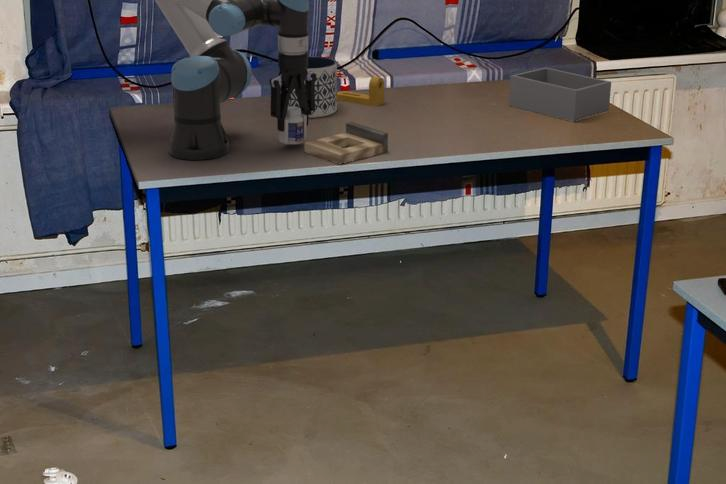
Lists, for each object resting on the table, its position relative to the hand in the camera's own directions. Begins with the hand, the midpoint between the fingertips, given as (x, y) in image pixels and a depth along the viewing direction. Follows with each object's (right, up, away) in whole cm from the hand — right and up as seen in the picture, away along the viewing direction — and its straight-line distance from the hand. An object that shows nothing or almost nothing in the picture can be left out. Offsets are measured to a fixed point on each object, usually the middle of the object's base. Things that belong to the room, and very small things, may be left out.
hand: (292, 140), depth 284 cm
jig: (+14, -3, -4) cm, 15 cm away
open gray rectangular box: (+75, +13, +36) cm, 84 cm away
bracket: (+17, +15, +44) cm, 49 cm away
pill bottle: (0, 0, 0) cm, 1 cm away
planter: (+3, +11, +33) cm, 35 cm away
